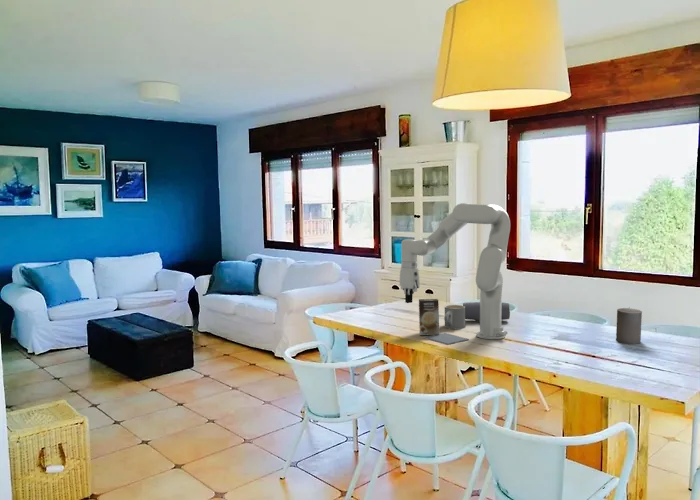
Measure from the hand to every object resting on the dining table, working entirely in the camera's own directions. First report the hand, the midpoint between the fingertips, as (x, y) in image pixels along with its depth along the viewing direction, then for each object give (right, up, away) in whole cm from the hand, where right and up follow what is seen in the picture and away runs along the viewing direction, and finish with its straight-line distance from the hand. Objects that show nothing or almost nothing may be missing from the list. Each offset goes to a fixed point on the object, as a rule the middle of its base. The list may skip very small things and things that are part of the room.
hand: (408, 302), depth 269 cm
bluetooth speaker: (+41, -12, +16) cm, 46 cm away
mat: (+15, -15, -19) cm, 29 cm away
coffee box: (+9, -14, -10) cm, 19 cm away
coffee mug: (+22, -13, +4) cm, 26 cm away
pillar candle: (+92, -14, -29) cm, 98 cm away
